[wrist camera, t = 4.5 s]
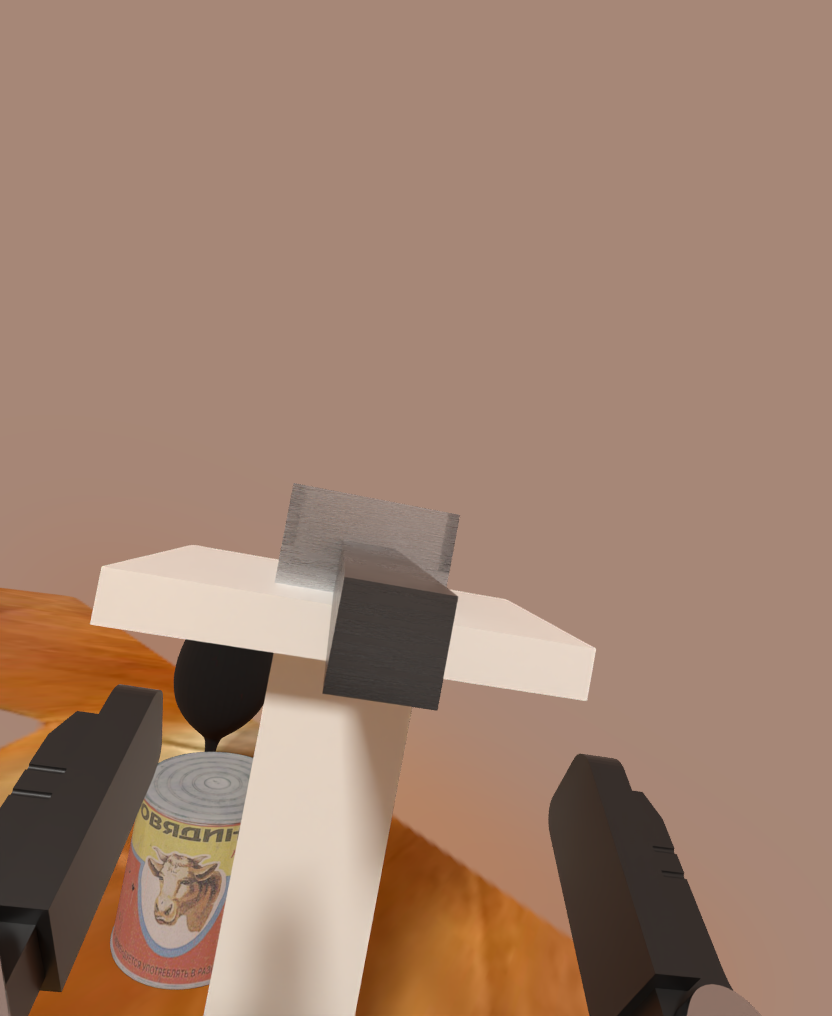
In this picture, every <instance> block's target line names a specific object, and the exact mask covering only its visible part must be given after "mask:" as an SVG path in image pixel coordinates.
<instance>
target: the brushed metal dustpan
mask: <svg viewBox="0 0 832 1016" xmlns="http://www.w3.org/2000/svg"><path fill="white" fill-rule="evenodd" d="M459 517H460V515H457V514H452V513H447V512H441V511H436V510H431V509H426V508H420V507H415V506H410V505H405V504H400V503H394V502H389V501H384V500H379V499H374V498H368V497H363V496H358V495H353V494H347V493H342V492H337V491H332V490H327V489H321V488H316V487H310V486H305V485H300V484H295V483H294V485H293V490H292V495H291V500H290V506H289V511H288V516H287V521H286V526H285V531H284V536H283V542H282V547H281V552H280V557H279V562H278V567H277V572H276V578H275V583H280V584H286V585H292V586H298V587H303V588H309V589H315V590H321V591H327V592H333V600H332V610H331V619H330V628H329V637H328V646H327V655H326V664H325V674H324V683H323V692H322V694H328V695H335V696H342V697H349V698H355V699H362V700H369V701H376V702H383V703H389V704H396V705H403V706H410V707H417V708H423V709H431V710H437V709H438V704H439V699H440V693H441V688H442V683H443V677H444V672H445V666H446V661H447V656H448V650H449V645H450V639H451V634H452V629H453V623H454V618H455V612H456V607H457V602H458V596H457V595H456V594H454V593H453V592H452V591H450V590H449V589H448V588H447V582H448V576H449V571H450V565H451V559H452V555H453V549H454V544H455V538H456V532H457V528H458V522H459Z"/></svg>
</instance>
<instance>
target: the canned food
mask: <svg viewBox="0 0 832 1016" xmlns="http://www.w3.org/2000/svg"><path fill="white" fill-rule="evenodd" d="M252 763H253V758H252V757H248V756H244V755H240V754H234V753H226V752H197V753H189V754H183V755H179V756H175V757H172V758H169V759H166V760H164V761H162V762H160V763H158V765H157V768H156V771H155V774H154V777H153V779H152V782H151V784H150V786H149V789H148V791H147V793H146V796H145V798H144V800H143V803H142V805H141V807H140V810H139V812H138V814H137V817H136V820H135V825H134V830H133V835H132V840H131V845H130V850H129V855H128V860H127V865H126V870H125V875H124V880H123V885H122V891H121V896H120V901H119V906H118V911H117V916H116V921H115V925H114V927H113V930H112V934H111V940H110V947H111V952H112V956H113V958H114V960H115V962H116V964H117V965H118V967H119V968H120V969H121V970H122V971H123V972H124V973H125V974H127V975H128V976H129V977H131V978H132V979H134V980H136V981H138V982H140V983H143V984H145V985H148V986H152V987H156V988H162V989H190V988H196V987H201V986H205V985H208V984H210V980H211V975H212V970H213V965H214V960H215V954H216V949H217V944H218V939H219V934H220V928H221V923H222V918H223V913H224V908H225V903H226V897H227V892H228V887H229V882H230V877H231V871H232V866H233V861H234V856H235V851H236V846H237V840H238V835H239V830H240V825H241V820H242V814H243V809H244V804H245V799H246V794H247V789H248V783H249V778H250V773H251V768H252Z"/></svg>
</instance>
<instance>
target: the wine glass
mask: <svg viewBox="0 0 832 1016" xmlns="http://www.w3.org/2000/svg"><path fill="white" fill-rule="evenodd" d="M273 654H274V653H272V652H266V651H259V650H253V649H246V648H240V647H233V646H227V645H220V644H214V643H207V642H201V641H194V640H188V639H186V640H185V642H184V644H183V646H182V649H181V651H180V654H179V657H178V660H177V664H176V668H175V673H174V693H175V699H176V702H177V705H178V707H179V709H180V711H181V713H182V715H183V716H184V718H185V719H186V720H187V721H188V723H189V724H190V725H191V726H192V727H193V728H194V729H195V730H197V731H198V732H199V733H200V734H201V735H202V736H203V737H204V739H205V752H215V751H216V748H217V745H218V743H219V741H220V740H221V739H222V738H223V737H225V736H227V735H229V734H231V733H232V732H234V731H236V730H238V729H239V728H241V727H242V726H243V725H245V724H246V723H247V722H249V721H250V720H251V719H252V718H253V717H254V716H255V715H256V714H257V713H258V711H259V710H260V709H261V707H262V706H263V704H264V701H265V695H266V690H267V685H268V680H269V675H270V669H271V664H272V659H273Z"/></svg>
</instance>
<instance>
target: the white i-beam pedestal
mask: <svg viewBox="0 0 832 1016" xmlns="http://www.w3.org/2000/svg"><path fill="white" fill-rule="evenodd" d="M278 562H279V560H278V559H272V558H266V557H260V556H254V555H249V554H243V553H237V552H232V551H226V550H220V549H215V548H208V547H202V546H197V545H190V546H185V547H181V548H178V549H173V550H169V551H164V552H160V553H156V554H152V555H148V556H143V557H139V558H135V559H131V560H127V561H123V562H119V563H114V564H110V565H106V566H102V568H101V573H100V578H99V583H98V588H97V593H96V598H95V603H94V607H93V612H92V617H91V622H90V624H91V625H97V626H104V627H110V628H117V629H123V630H130V631H136V632H143V633H149V634H156V635H162V636H168V637H175V638H181V639H188V640H194V641H201V642H207V643H214V644H220V645H227V646H233V647H240V648H246V649H253V650H259V651H266V652H272V653H274V654H273V659H272V664H271V669H270V675H269V680H268V685H267V690H266V695H265V701H264V706H263V711H262V716H261V721H260V726H259V732H258V737H257V742H256V747H255V752H254V758H253V763H252V768H251V773H250V778H249V783H248V789H247V794H246V799H245V804H244V809H243V814H242V820H241V825H240V830H239V835H238V840H237V846H236V851H235V856H234V861H233V866H232V871H231V877H230V882H229V887H228V892H227V897H226V903H225V908H224V913H223V918H222V923H221V928H220V934H219V939H218V944H217V949H216V954H215V960H214V965H213V970H212V975H211V980H210V985H209V991H208V996H207V1001H206V1006H205V1011H204V1016H355V1012H356V1007H357V1001H358V996H359V991H360V985H361V980H362V974H363V969H364V964H365V958H366V953H367V948H368V942H369V937H370V932H371V926H372V921H373V915H374V910H375V905H376V899H377V894H378V889H379V883H380V878H381V873H382V867H383V862H384V856H385V851H386V846H387V840H388V835H389V830H390V824H391V819H392V814H393V808H394V803H395V797H396V792H397V787H398V781H399V776H400V771H401V765H402V760H403V755H404V749H405V744H406V738H407V733H408V728H409V722H410V717H411V712H412V707H410V706H403V705H396V704H389V703H383V702H376V701H369V700H362V699H355V698H349V697H342V696H335V695H328V694H322V692H323V683H324V674H325V664H326V655H327V646H328V637H329V628H330V619H331V610H332V600H333V592H327V591H321V590H315V589H309V588H303V587H298V586H292V585H286V584H280V583H275V578H276V572H277V567H278ZM449 590H450V589H449ZM450 591H452V592H453V593H454V594H456V595H457V596H458V602H457V607H456V612H455V618H454V623H453V629H452V634H451V639H450V645H449V650H448V656H447V661H446V666H445V672H444V677H443V679H447V680H454V681H461V682H467V683H473V684H480V685H487V686H493V687H500V688H506V689H513V690H519V691H525V692H532V693H538V694H545V695H552V696H558V697H564V698H571V699H577V700H584V701H587V697H588V691H589V686H590V680H591V675H592V669H593V663H594V657H595V652H596V648H594V647H592V646H590V645H588V644H586V643H585V642H583V641H581V640H579V639H578V638H576V637H574V636H572V635H570V634H568V633H567V632H565V631H563V630H561V629H559V628H557V627H556V626H554V625H552V624H550V623H548V622H547V621H545V620H543V619H541V618H539V617H538V616H535V615H533V614H532V613H530V612H528V611H526V610H525V609H523V608H521V607H519V606H517V605H516V604H514V603H512V602H510V601H508V600H507V599H501V598H495V597H489V596H484V595H478V594H472V593H467V592H461V591H455V590H450Z"/></svg>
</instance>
